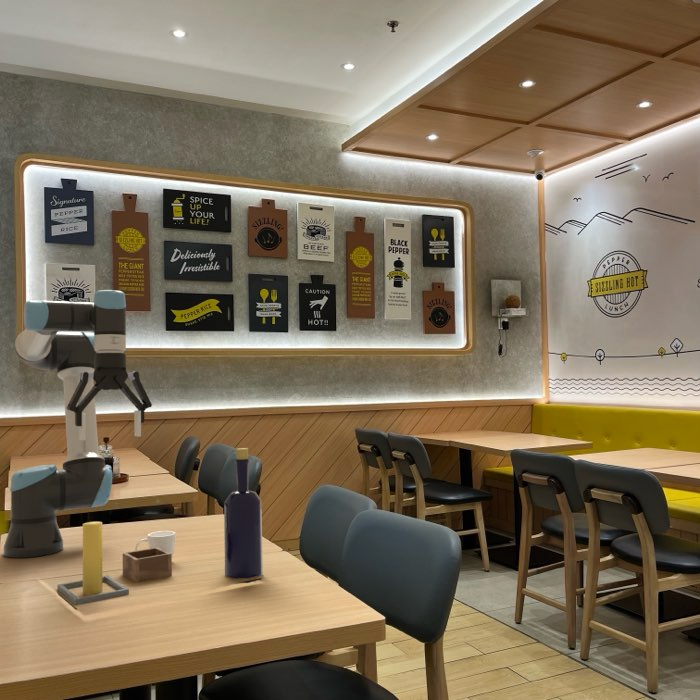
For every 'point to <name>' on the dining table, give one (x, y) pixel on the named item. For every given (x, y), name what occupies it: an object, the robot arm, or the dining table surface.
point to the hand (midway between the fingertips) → (110, 438)
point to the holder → (147, 564)
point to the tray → (64, 590)
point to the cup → (161, 540)
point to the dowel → (92, 558)
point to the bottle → (243, 526)
